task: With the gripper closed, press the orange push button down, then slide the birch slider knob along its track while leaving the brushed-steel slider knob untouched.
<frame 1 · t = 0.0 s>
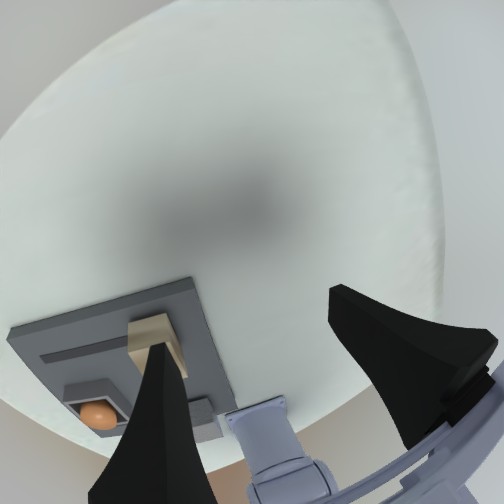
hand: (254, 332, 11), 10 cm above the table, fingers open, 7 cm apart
steel slider: (201, 421, 25), point 3 cm above the table, slide at 0.0 cm
control panel: (130, 376, 24), on the table
birch slider: (157, 350, 19), point 3 cm above the table, slide at 0.0 cm
push button: (98, 414, 20), point 4 cm above the table, slide at 0.0 cm
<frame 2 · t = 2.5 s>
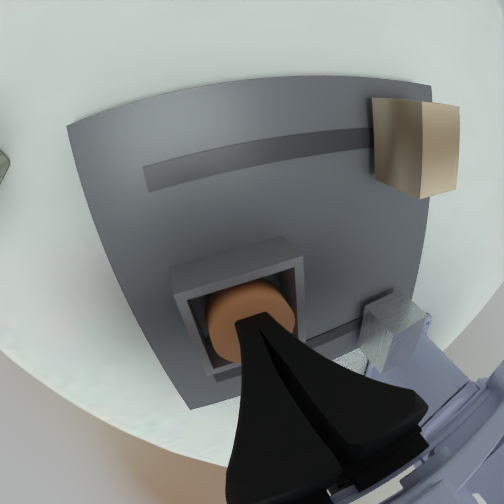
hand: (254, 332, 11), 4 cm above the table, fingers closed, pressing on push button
steel slider: (390, 332, 17), point 4 cm above the table, slide at 0.0 cm
control panel: (298, 251, 15), on the table
birch slider: (417, 143, 10), point 4 cm above the table, slide at 0.0 cm
push button: (249, 321, 12), point 3 cm above the table, slide at 0.3 cm, touching gripper
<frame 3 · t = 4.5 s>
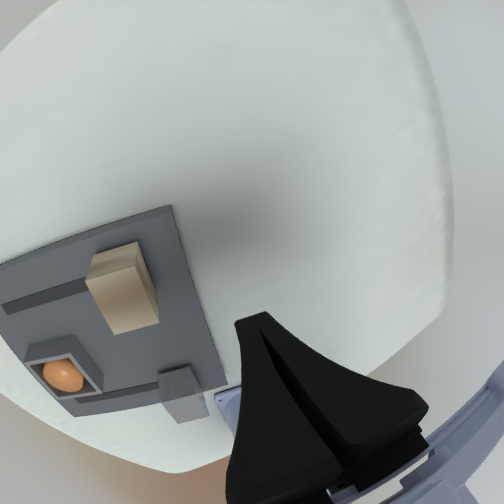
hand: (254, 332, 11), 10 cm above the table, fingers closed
steel slider: (183, 396, 22), point 3 cm above the table, slide at 0.0 cm
control panel: (101, 336, 20), on the table
birch slider: (124, 288, 15), point 3 cm above the table, slide at 0.0 cm
push button: (63, 371, 18), point 3 cm above the table, slide at 0.9 cm
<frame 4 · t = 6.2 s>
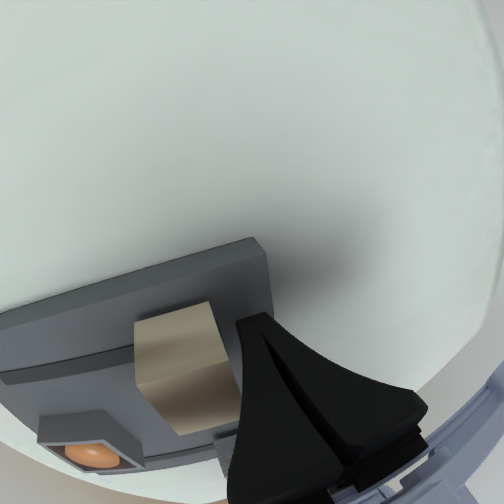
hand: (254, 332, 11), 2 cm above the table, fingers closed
steel slider: (244, 460, 16), point 3 cm above the table, slide at 0.0 cm
control panel: (138, 403, 15), on the table
birch slider: (191, 373, 10), point 3 cm above the table, slide at 0.1 cm, touching gripper
push button: (91, 448, 12), point 3 cm above the table, slide at 0.9 cm
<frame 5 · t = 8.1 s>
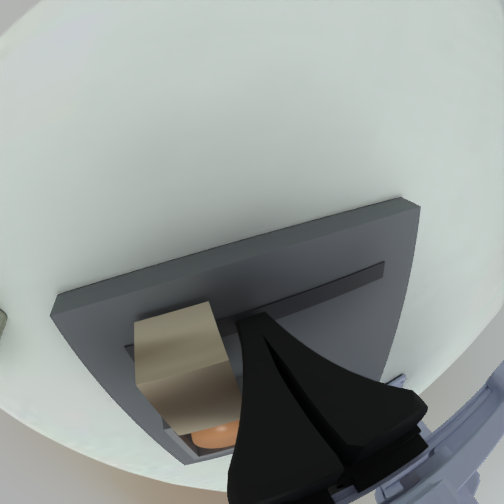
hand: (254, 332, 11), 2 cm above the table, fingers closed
control panel: (269, 366, 17), on the table
birch slider: (191, 373, 10), point 4 cm above the table, slide at 8.9 cm, touching gripper
push button: (220, 424, 14), point 3 cm above the table, slide at 0.9 cm
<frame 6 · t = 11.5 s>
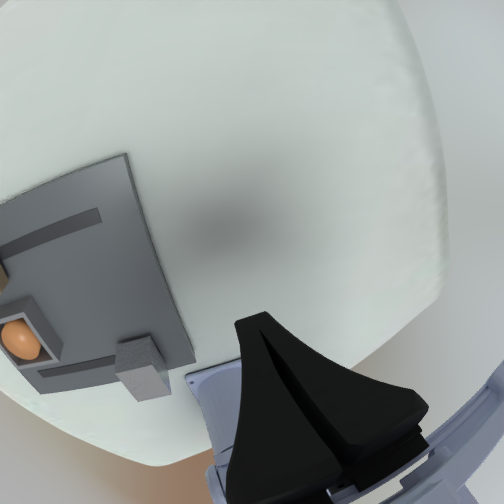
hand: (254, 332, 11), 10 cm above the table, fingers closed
steel slider: (143, 370, 20), point 3 cm above the table, slide at 0.0 cm
control panel: (61, 301, 18), on the table
push button: (22, 336, 16), point 3 cm above the table, slide at 0.9 cm
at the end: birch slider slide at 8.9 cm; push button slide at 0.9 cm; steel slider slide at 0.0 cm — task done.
